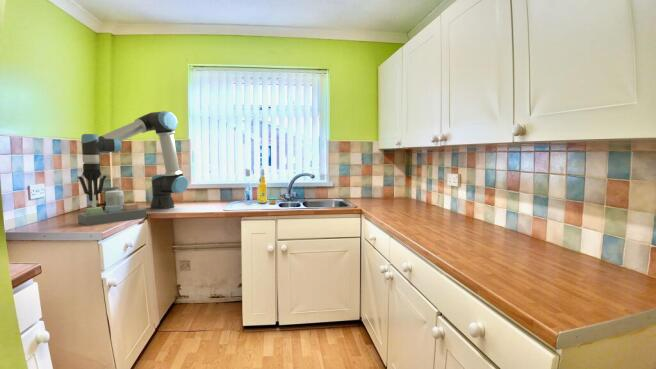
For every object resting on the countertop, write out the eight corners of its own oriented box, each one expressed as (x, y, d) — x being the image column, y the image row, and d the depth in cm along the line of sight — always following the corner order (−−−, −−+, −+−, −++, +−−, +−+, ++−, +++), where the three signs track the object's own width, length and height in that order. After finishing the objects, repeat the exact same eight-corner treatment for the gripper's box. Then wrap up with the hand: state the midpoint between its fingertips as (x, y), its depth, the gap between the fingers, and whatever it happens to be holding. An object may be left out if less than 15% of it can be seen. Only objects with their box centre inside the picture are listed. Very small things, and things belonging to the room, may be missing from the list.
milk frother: (119, 210, 232) (117, 188, 231) (91, 212, 225) (89, 189, 224) (121, 207, 245) (120, 186, 244) (94, 209, 238) (93, 187, 237)
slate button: (117, 211, 200) (116, 205, 200) (121, 213, 196) (120, 205, 196) (105, 213, 196) (104, 206, 195) (109, 214, 192) (108, 207, 192)
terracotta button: (133, 209, 207) (133, 203, 207) (138, 210, 203) (137, 204, 203) (122, 211, 203) (122, 204, 202) (126, 212, 199) (126, 205, 198)
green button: (99, 214, 193) (98, 206, 193) (103, 215, 190) (102, 207, 189) (86, 215, 189) (86, 208, 188) (90, 216, 185) (89, 209, 185)
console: (136, 215, 212) (136, 207, 212) (146, 217, 203) (146, 209, 203) (78, 222, 189) (77, 213, 189) (86, 226, 180) (85, 216, 180)
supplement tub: (123, 213, 219) (122, 190, 218) (126, 215, 212) (125, 191, 211) (105, 215, 213) (103, 191, 212) (107, 217, 206) (106, 192, 205)
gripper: (102, 162, 194) (105, 204, 196) (74, 163, 184) (77, 207, 186) (107, 162, 189) (110, 206, 191) (79, 163, 179) (81, 208, 181)
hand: (93, 206), depth 189 cm, fingers closed
